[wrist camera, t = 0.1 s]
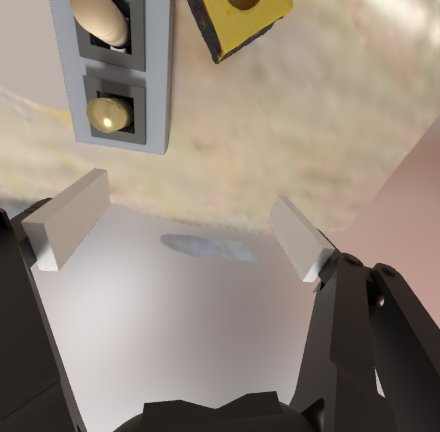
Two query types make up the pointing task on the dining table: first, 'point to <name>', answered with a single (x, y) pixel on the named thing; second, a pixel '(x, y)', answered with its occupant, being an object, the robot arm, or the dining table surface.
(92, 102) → the brass peg
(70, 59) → the socket block
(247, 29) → the candle
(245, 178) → the dining table surface
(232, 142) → the dining table surface
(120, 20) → the beech peg
